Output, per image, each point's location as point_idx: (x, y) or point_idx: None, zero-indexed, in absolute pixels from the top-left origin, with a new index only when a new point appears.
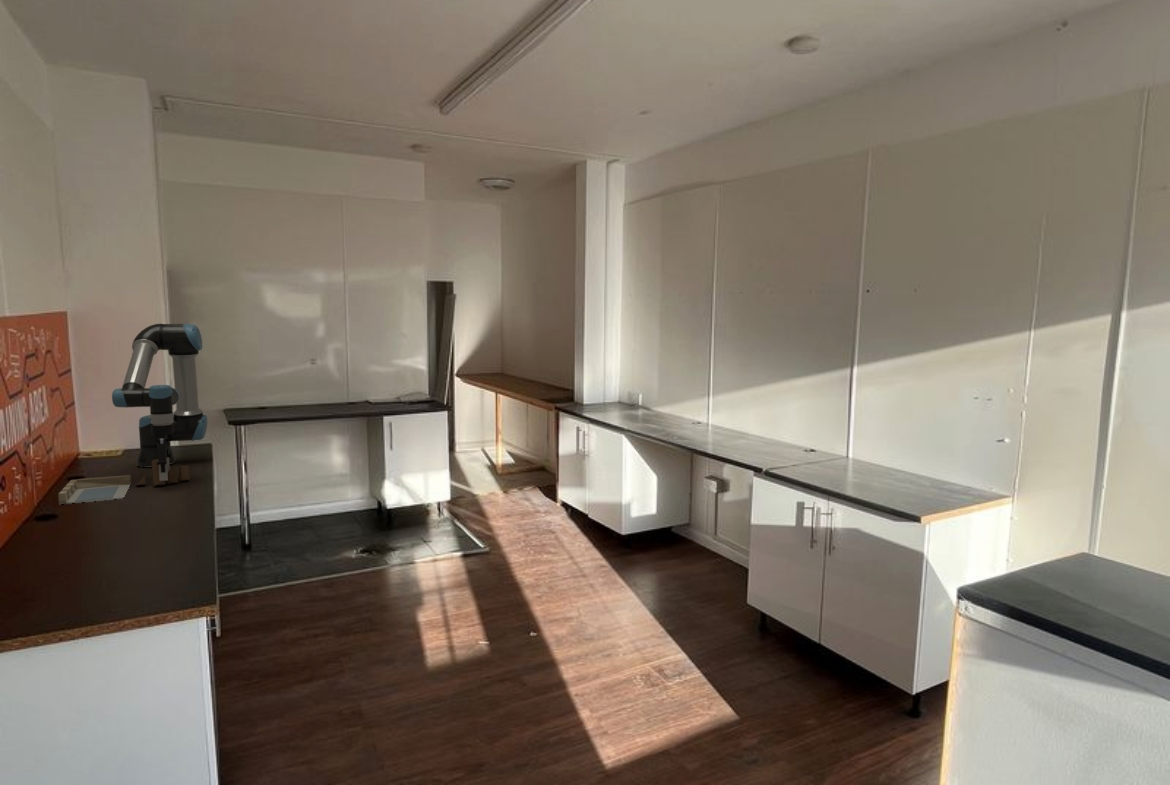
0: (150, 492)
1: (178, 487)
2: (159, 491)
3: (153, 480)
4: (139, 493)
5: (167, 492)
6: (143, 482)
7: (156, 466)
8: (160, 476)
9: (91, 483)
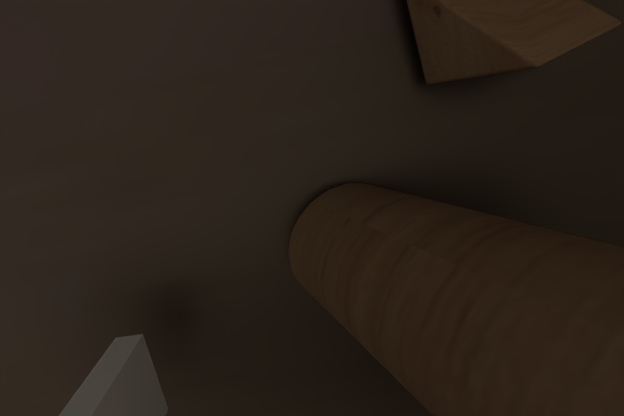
0: (80, 202)
1: (253, 389)
2: (114, 275)
3: (344, 209)
4: (43, 96)
5: (58, 347)
6: (435, 57)
7: (464, 396)
8: (84, 401)
9: None
